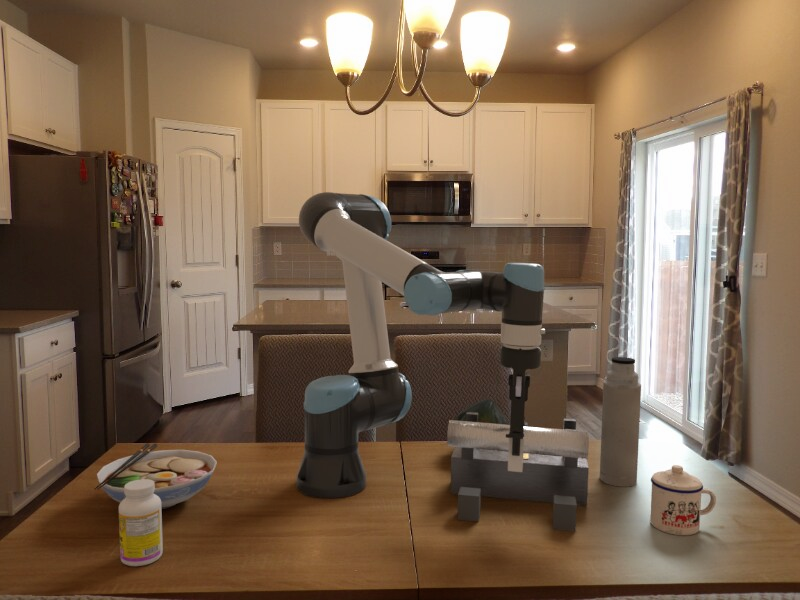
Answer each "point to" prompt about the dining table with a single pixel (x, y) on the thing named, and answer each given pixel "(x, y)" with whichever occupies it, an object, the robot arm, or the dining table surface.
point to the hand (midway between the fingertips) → (515, 465)
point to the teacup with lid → (678, 501)
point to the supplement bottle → (140, 524)
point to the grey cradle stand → (520, 473)
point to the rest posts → (561, 508)
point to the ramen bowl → (159, 473)
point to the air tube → (534, 439)
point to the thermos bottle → (620, 424)
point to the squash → (485, 412)
